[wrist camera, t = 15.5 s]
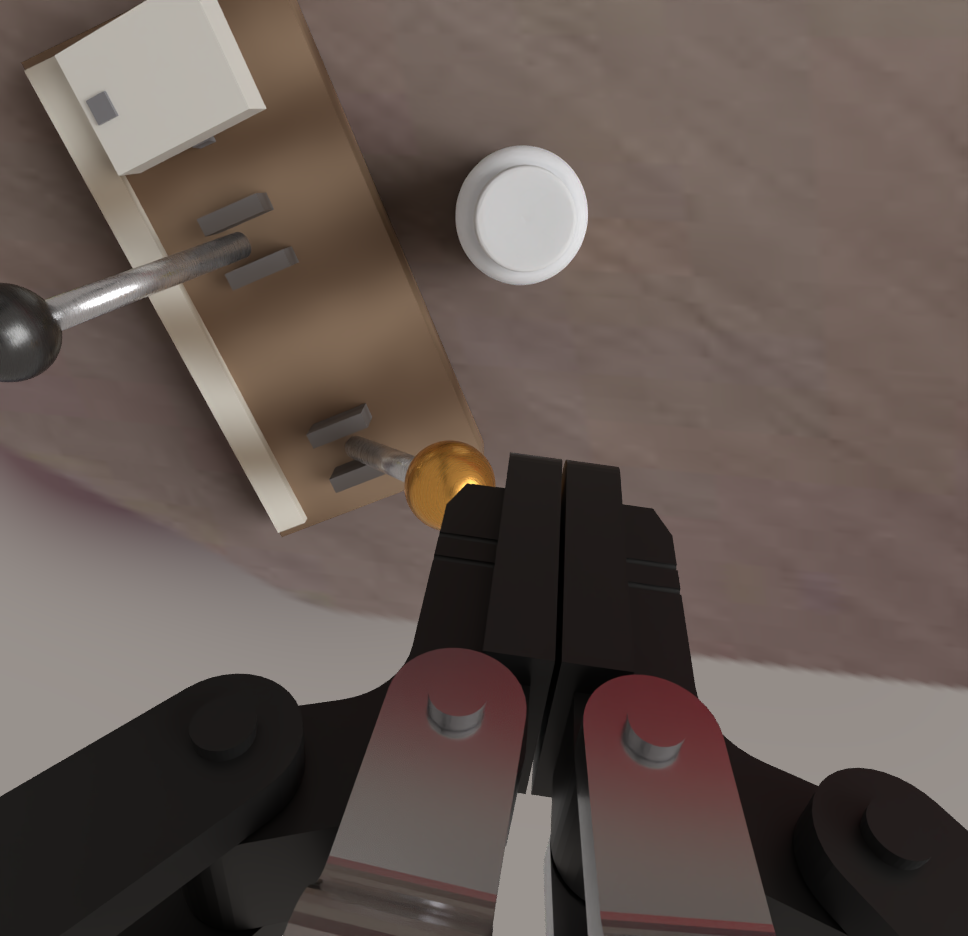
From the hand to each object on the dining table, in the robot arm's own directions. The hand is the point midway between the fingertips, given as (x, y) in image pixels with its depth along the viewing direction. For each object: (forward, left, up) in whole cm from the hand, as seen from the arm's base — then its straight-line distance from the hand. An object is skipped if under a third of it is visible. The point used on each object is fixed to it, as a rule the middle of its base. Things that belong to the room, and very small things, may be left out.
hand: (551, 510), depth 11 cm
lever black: (-6, -10, -28) cm, 30 cm away
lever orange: (+5, -10, -28) cm, 30 cm away
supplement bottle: (-2, +2, -31) cm, 31 cm away
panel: (-4, -10, -31) cm, 33 cm away
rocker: (-13, -10, -26) cm, 31 cm away
